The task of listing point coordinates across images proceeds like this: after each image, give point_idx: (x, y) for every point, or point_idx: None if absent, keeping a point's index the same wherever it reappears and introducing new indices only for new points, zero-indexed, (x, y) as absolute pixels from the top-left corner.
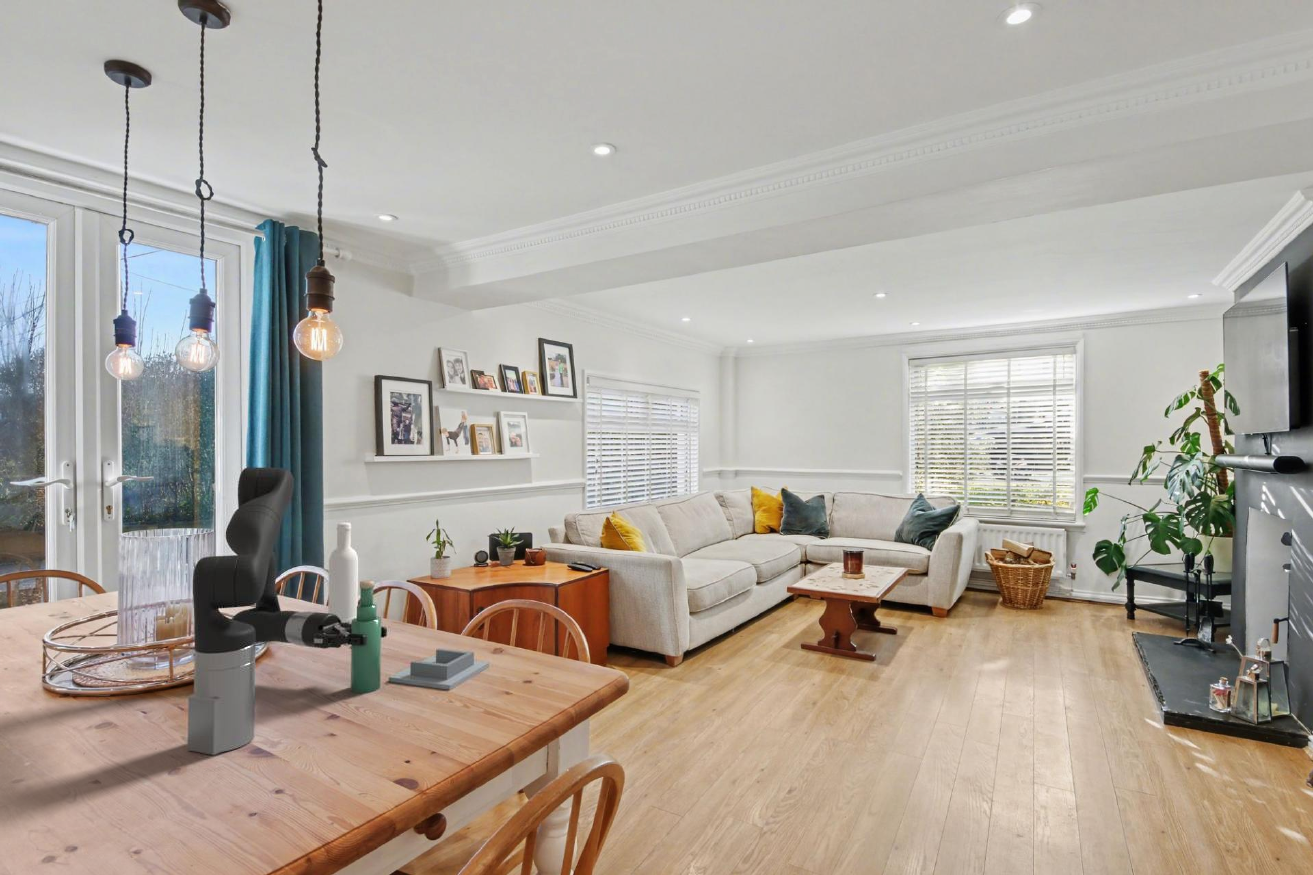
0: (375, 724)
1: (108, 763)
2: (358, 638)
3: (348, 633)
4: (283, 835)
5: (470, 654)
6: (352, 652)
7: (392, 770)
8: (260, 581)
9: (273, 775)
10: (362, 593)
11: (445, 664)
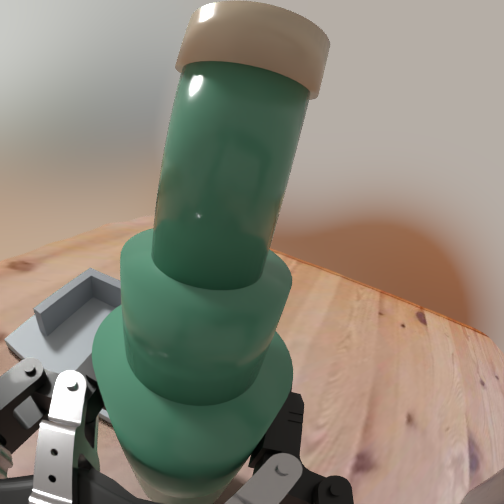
0: (360, 385)
1: None
2: (301, 400)
3: (279, 458)
4: (488, 350)
5: (98, 272)
6: (234, 476)
7: (418, 330)
8: None
9: (480, 405)
10: (297, 143)
11: None
